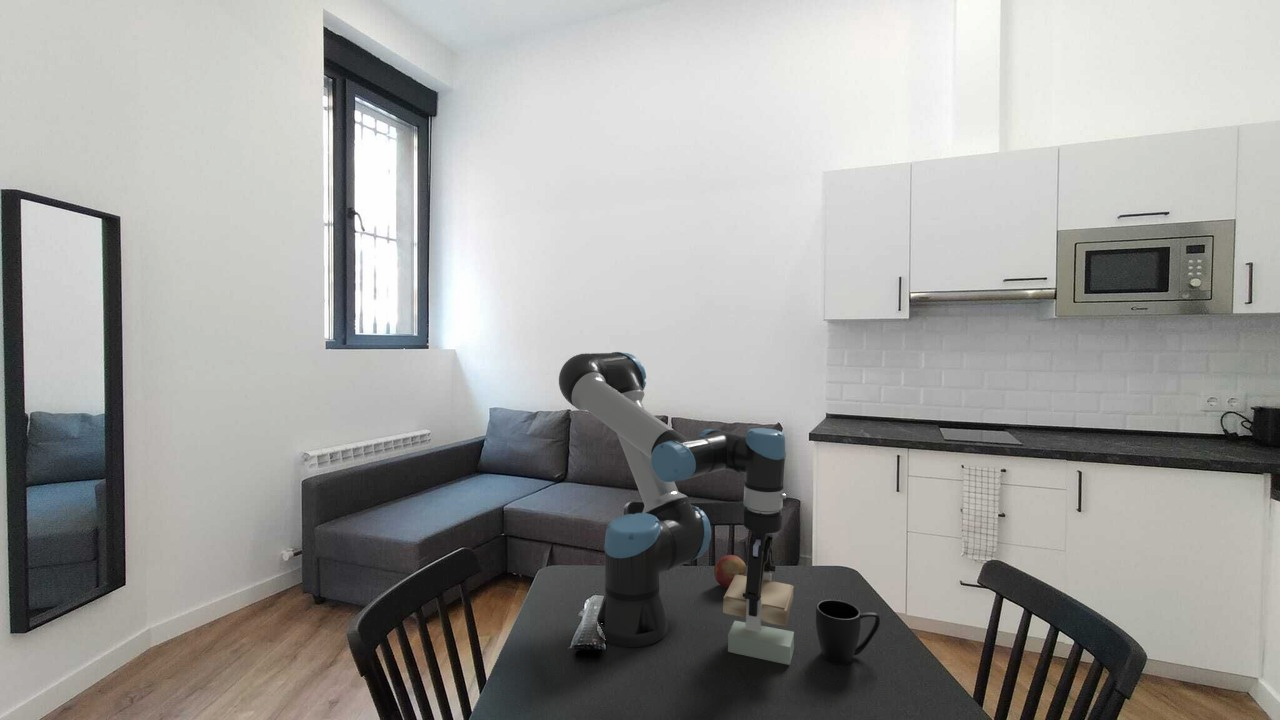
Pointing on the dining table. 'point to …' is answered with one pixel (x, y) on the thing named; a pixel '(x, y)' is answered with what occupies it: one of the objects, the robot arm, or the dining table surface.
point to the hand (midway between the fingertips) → (758, 615)
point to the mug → (841, 630)
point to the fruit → (728, 569)
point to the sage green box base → (761, 643)
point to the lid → (773, 600)
